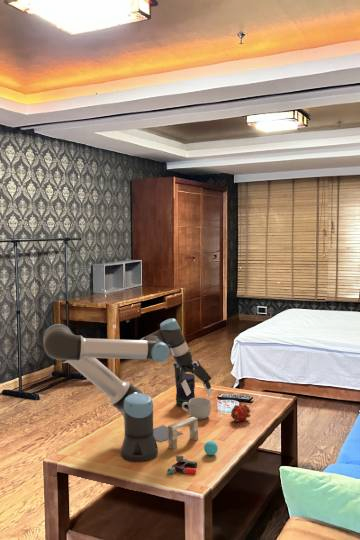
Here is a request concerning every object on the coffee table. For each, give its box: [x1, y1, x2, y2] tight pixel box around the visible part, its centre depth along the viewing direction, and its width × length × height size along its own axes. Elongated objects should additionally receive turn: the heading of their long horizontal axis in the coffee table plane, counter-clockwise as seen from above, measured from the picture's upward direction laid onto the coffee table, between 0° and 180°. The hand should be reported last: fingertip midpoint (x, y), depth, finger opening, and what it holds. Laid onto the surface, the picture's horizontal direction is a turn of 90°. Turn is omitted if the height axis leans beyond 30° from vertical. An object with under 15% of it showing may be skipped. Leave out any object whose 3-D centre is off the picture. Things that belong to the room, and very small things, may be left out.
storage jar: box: [175, 373, 196, 409], centre depth 274 cm, size 10×10×15 cm
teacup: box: [181, 396, 212, 420], centre depth 257 cm, size 14×11×8 cm
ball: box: [203, 440, 219, 456], centre depth 217 cm, size 6×6×6 cm
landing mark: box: [153, 425, 183, 443], centre depth 239 cm, size 13×13×1 cm
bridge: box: [167, 416, 199, 450], centre depth 228 cm, size 3×14×9 cm, turn 133°
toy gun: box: [166, 455, 198, 476], centre depth 203 cm, size 10×12×5 cm
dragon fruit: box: [230, 403, 251, 423], centre depth 252 cm, size 8×8×12 cm
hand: (199, 394), depth 237 cm, fingers open, 13 cm apart
